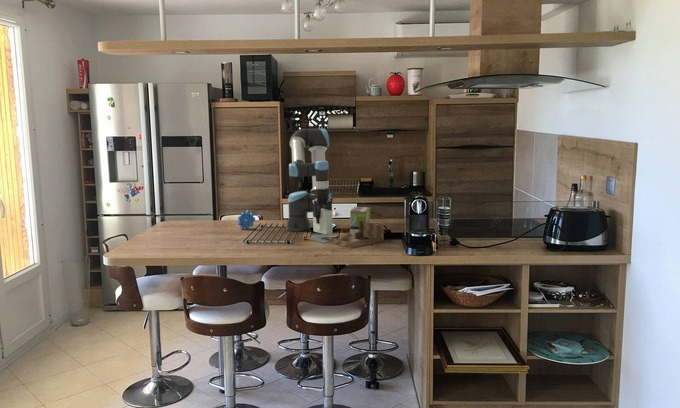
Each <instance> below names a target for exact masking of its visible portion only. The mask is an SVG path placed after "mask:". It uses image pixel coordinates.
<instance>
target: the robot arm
mask: <svg viewBox="0 0 680 408" xmlns="http://www.w3.org/2000/svg"><path fill="white" fill-rule="evenodd" d="M289 138H290V139H289V146H290V149H291V162H290V163H289V164H288V170H289V171H288V173H289V177H312V178H311V179H312V188H311V190H310V193H308V191H307V190H306V191H305V190H301V191H295V192H291V193H290V194H289V195H288V199H287V201H288V219H287V223H286V227H285V229H286V231H288V232H297V233H298V232H308V231H310V230H311V229H310V228H311V223H310V221H309V218H308V213H312V218H313V217H315V218H316V223H317V229H320V230H321V218H320V214H321V209H325V210H331V211H332V212H333V200H334V199H333V198H332V193H331V192H330V189H329V188H330V187H329V186H330V185H329V183H330V180H329V175H330V172H329V170H330V169H329V168H330V166H329V161H328V160H326V151H327V150H328V148H329V147H330V136H329V133H328V130H327V129H326V128H301V129H299V130H296V131H295V132H294V133H293V134H292V135H291V137H289ZM305 148H308V151H310V152H311V162H306V161H305V160H306V159H305Z"/></svg>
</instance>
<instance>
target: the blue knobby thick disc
mask: <svg viewBox="0 0 680 408" xmlns="http://www.w3.org/2000/svg"><path fill="white" fill-rule="evenodd" d="M254 215H255V214H254V212H251V211H250V210H249V209H248V210H246V211H242V212H241V213H240V215H238V216H237V219H238V220H237V225H238V226H240V229H245V230H248V229H250V227H253V226H254V223H255V221H256V217H254Z"/></svg>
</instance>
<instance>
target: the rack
mask: <svg viewBox="0 0 680 408" xmlns="http://www.w3.org/2000/svg"><path fill="white" fill-rule="evenodd" d="M331 237H332V238H329V242H328V243H331V244H334V245H337V246H341V247H345V248H347V249H353V248H357V247H362V246H366V245H370V244H376V243H379V242H380V243H381V242H384V224H378V223H374V222H371V221H370V222H366V221H359V232H357V233H355V239H357V238H360V237H363V238H367V239H362V240H359V241H357V242H352V243H349V242H345V241H341V240H338V238H340V235H338V236H331Z"/></svg>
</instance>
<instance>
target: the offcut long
mask: <svg viewBox="0 0 680 408" xmlns="http://www.w3.org/2000/svg"><path fill="white" fill-rule="evenodd" d="M338 240H341V239H340V238H338ZM341 241H345V242H349V243H352V242H357V241H360V239H358V238H355V239H350V240H341Z"/></svg>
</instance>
